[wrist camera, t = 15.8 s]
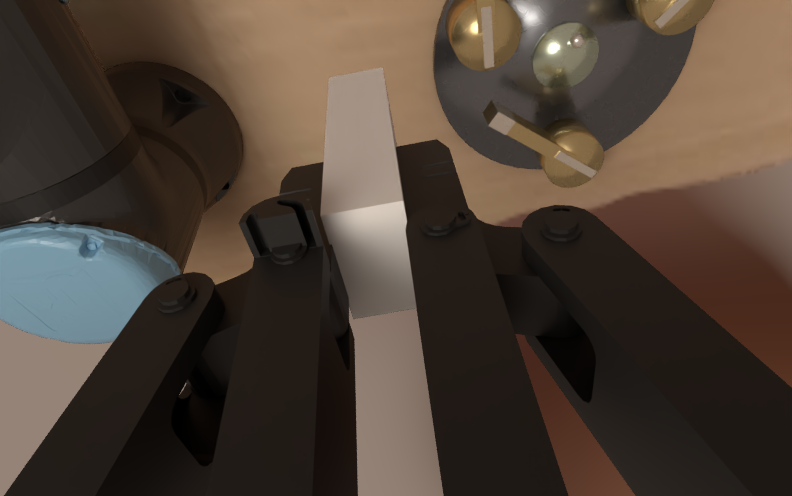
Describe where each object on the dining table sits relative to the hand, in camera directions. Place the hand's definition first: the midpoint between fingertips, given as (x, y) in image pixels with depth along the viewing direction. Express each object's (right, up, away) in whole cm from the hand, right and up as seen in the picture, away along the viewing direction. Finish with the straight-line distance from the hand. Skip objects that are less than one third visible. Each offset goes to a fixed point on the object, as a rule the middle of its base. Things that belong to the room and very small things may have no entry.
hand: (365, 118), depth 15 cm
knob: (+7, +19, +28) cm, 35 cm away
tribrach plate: (+16, +15, +34) cm, 41 cm away
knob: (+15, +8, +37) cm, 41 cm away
